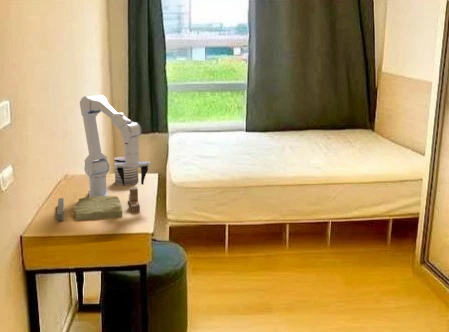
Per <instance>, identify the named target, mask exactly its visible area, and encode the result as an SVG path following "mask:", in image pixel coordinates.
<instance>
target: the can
mask: <svg viewBox="0 0 449 332" xmlns="http://www.w3.org/2000/svg"><path fill="white" fill-rule="evenodd" d="M113 161H114V163H123V162H125V156H119V157H118V156H117V157H114V160H113ZM114 163H113V164H114ZM123 169H124V183H125V186H129V185H130V186H131V185H135V184H138V183H139V167H137V168H123ZM114 182H115V184H116V183H117V184H116V185H119V184H121V185H120V186H123V184H122V180H121V177H120V175H119V173H118V171H117V169H114Z"/></svg>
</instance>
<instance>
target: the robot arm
mask: <svg viewBox="0 0 449 332" xmlns="http://www.w3.org/2000/svg"><path fill="white" fill-rule="evenodd" d="M79 108H80V113H81V116H82V121H83V126H84V133H85V139H86V145H87V150H88V155H87V156H86V157H85V159H84V166H83V169H84V172H85V174H86V175H87V177H88V182H89V183H88V184H89V190H88V197H99V196H109V193H108V189H107V175H108V173H109V171H110V167H111V166H110V163H109V160H108V158H107V157H108V156H106V155H105V154H104V153H103V152H102V148H101V143H100V136H99V131H98V130H99V129H98V124H97V119H96V118H97V116H98V114H100V113H103V114H104V115H106V116H107V117H108V118H109V119H111V124H113V126H115V127H116V128H117V129H118V130H119V131H120V134H121V136H122V142H123V143H124V157H125V162H123V163H113V166H114V167H113V169H114V170H115V169H117V171H118V173H119V175H120V177H121V180H122V184H123V185H122V187H123V186H124V187H125V186H126V185H125V183H124V169H123V168H137V167H138V168H140V174H141V175H140V177H141V178H140V179H141V181H140V183H141V185H144V183H145V179H146V175H147V173H148V170H149V168H151V162H150V161H140V142H139V139H140V136H141V134H142V127H141V125H140V124H139V122H135V121H132V120H131V119H129V118H128V117H127V116H126V115H125V113H123V112H117V110H115V109H114V107H113V106H112V105H111V104H110V103H109V100H108V98H107V97H106V96H105V95H104V94H96V95H87V96H83V97H82V98H81V99H80V101H79Z"/></svg>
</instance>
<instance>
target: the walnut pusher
mask: <svg viewBox="0 0 449 332" xmlns="http://www.w3.org/2000/svg"><path fill="white" fill-rule="evenodd" d="M138 191H139V189H138V187H137V186H135V187H129V194H128V202H129V205H130V210H131V212H132V213H134V214H135V213H141V209H140V208H141V206H140V202H139V192H138Z"/></svg>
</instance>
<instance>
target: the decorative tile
mask: <svg viewBox="0 0 449 332" xmlns="http://www.w3.org/2000/svg"><path fill="white" fill-rule="evenodd" d="M121 203H122V202H121V200H120V198H119V197H118V196H117V195H114V196H112V195H111V196H110V195H108V196H99V197H89V196H85V197H81V198H78V201H77V202H76V205H75V206H74V207H73V210H74V216H75V217H74V218H75V220H76V221H81V220H83V221H84V220H85V221H86V220H98V219H110V218H122V217H123V208H122V204H121Z"/></svg>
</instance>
